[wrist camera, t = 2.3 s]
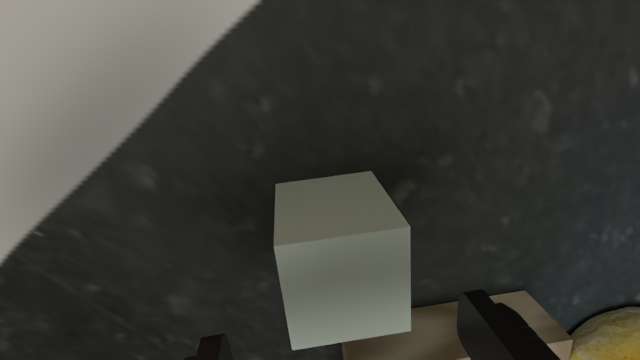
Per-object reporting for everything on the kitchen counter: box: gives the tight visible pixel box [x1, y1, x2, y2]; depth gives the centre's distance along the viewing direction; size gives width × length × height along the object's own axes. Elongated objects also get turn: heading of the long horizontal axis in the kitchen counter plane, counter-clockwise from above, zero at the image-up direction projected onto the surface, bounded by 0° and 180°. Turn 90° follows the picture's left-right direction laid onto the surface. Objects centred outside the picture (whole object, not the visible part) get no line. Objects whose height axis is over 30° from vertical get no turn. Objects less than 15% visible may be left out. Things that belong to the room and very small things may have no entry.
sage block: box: [274, 171, 411, 350], centre depth 16 cm, size 5×5×6 cm
